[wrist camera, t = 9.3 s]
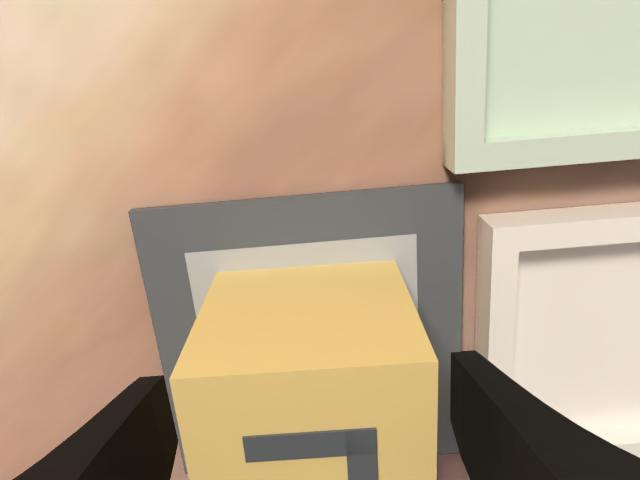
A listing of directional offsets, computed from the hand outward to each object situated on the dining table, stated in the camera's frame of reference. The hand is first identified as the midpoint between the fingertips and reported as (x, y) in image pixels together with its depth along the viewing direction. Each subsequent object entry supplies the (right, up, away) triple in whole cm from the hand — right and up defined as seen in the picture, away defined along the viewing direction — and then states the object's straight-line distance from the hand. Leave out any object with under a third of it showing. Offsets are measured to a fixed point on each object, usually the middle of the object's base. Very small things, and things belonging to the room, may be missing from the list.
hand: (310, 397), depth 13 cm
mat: (0, +1, +3) cm, 3 cm away
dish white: (+9, +1, +3) cm, 9 cm away
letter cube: (0, +1, +2) cm, 2 cm away
